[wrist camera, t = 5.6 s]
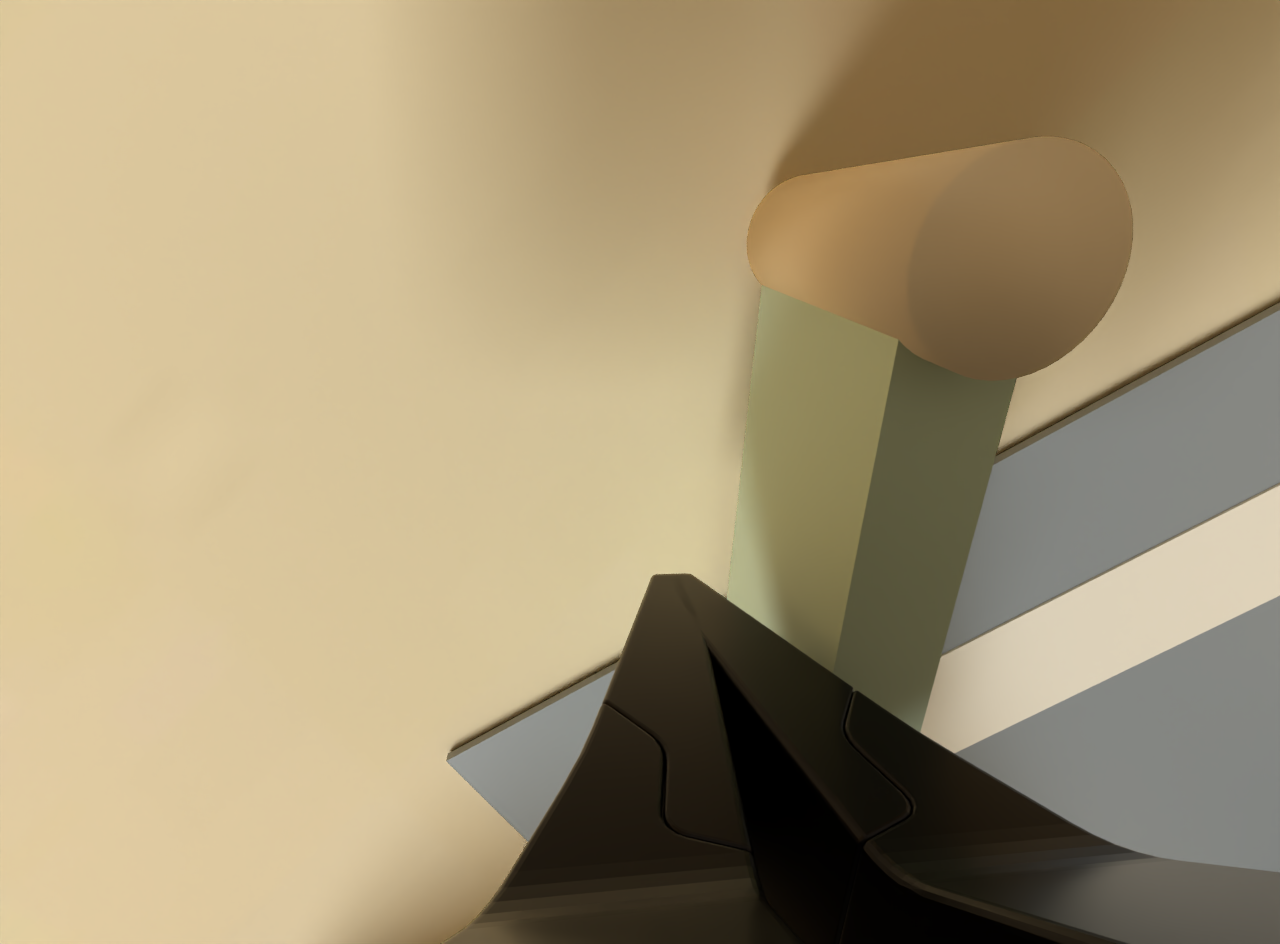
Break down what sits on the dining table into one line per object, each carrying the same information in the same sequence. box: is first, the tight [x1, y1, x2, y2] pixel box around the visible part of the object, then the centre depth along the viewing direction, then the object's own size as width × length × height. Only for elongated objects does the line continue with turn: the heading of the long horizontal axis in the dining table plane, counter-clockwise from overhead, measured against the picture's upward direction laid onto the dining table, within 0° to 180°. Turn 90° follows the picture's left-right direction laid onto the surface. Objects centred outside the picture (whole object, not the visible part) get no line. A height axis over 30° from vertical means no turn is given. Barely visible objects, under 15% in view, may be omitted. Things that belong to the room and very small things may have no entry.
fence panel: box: [727, 136, 1133, 732], centre depth 9 cm, size 12×2×5 cm, turn 177°
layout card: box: [446, 302, 1280, 872], centre depth 16 cm, size 19×20×1 cm
